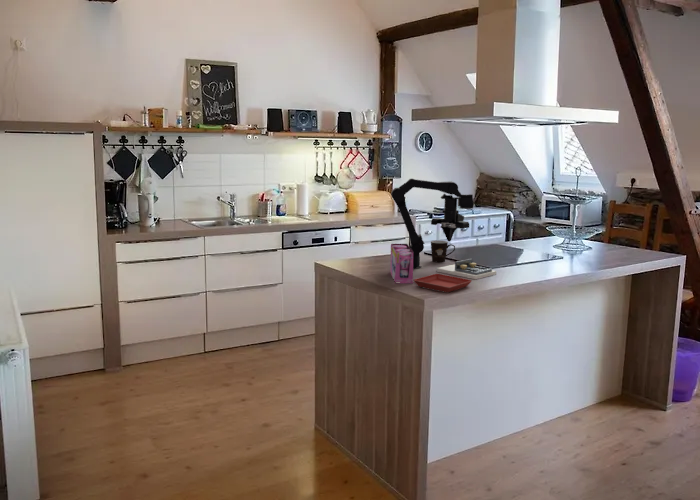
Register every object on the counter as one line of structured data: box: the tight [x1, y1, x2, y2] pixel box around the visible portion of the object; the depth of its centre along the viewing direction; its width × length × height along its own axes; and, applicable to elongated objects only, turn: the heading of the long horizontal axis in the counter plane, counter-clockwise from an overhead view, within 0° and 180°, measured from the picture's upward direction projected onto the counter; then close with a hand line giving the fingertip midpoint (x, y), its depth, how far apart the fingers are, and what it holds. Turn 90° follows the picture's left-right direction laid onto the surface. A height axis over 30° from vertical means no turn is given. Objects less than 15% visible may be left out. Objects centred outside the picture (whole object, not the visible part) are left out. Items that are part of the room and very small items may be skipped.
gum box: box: [389, 243, 414, 284], centre depth 276 cm, size 24×8×14 cm, turn 2°
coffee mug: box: [430, 239, 456, 264], centre depth 314 cm, size 12×9×10 cm
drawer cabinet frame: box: [454, 258, 493, 275], centre depth 286 cm, size 12×12×4 cm
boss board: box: [436, 262, 497, 280], centre depth 289 cm, size 16×22×4 cm
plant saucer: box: [413, 273, 473, 293], centre depth 262 cm, size 18×18×3 cm
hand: (449, 241), depth 297 cm, fingers closed
